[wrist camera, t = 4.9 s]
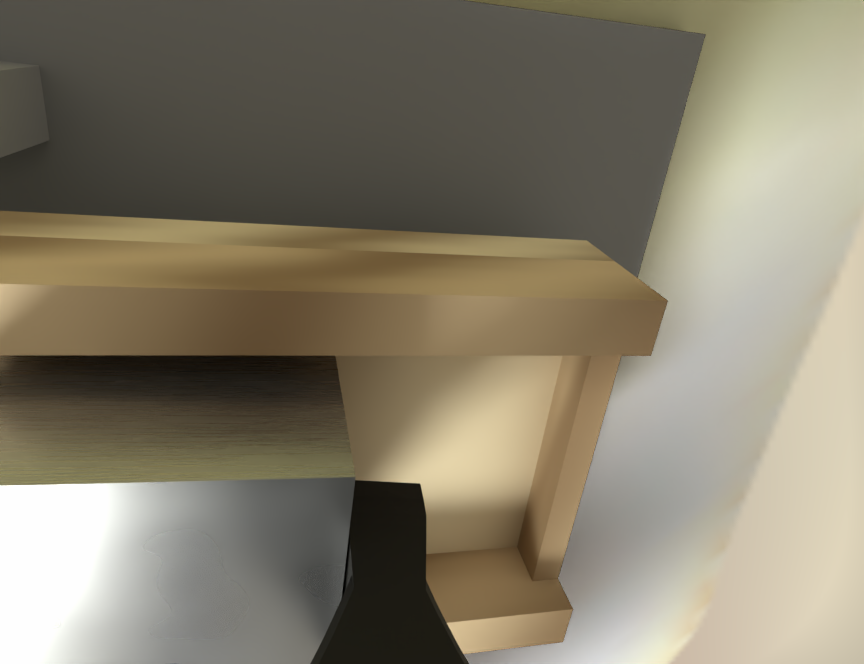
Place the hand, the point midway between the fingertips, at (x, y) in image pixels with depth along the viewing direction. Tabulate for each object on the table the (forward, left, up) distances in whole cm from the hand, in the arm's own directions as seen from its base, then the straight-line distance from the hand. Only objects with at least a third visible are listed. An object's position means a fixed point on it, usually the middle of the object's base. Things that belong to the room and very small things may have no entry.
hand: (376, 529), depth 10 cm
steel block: (0, +4, -2) cm, 4 cm away
